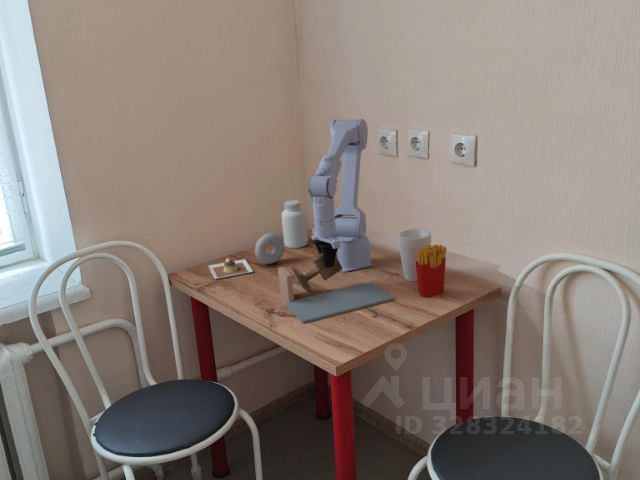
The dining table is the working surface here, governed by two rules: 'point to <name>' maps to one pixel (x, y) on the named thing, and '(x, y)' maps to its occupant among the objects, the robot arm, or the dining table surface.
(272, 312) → the dining table surface
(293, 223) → the pill bottle
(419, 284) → the french fries
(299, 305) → the mat
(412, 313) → the dining table surface
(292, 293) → the tile
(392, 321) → the dining table surface
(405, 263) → the foam cup
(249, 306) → the dining table surface
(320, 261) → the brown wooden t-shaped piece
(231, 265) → the white frame and cone
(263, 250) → the donut
